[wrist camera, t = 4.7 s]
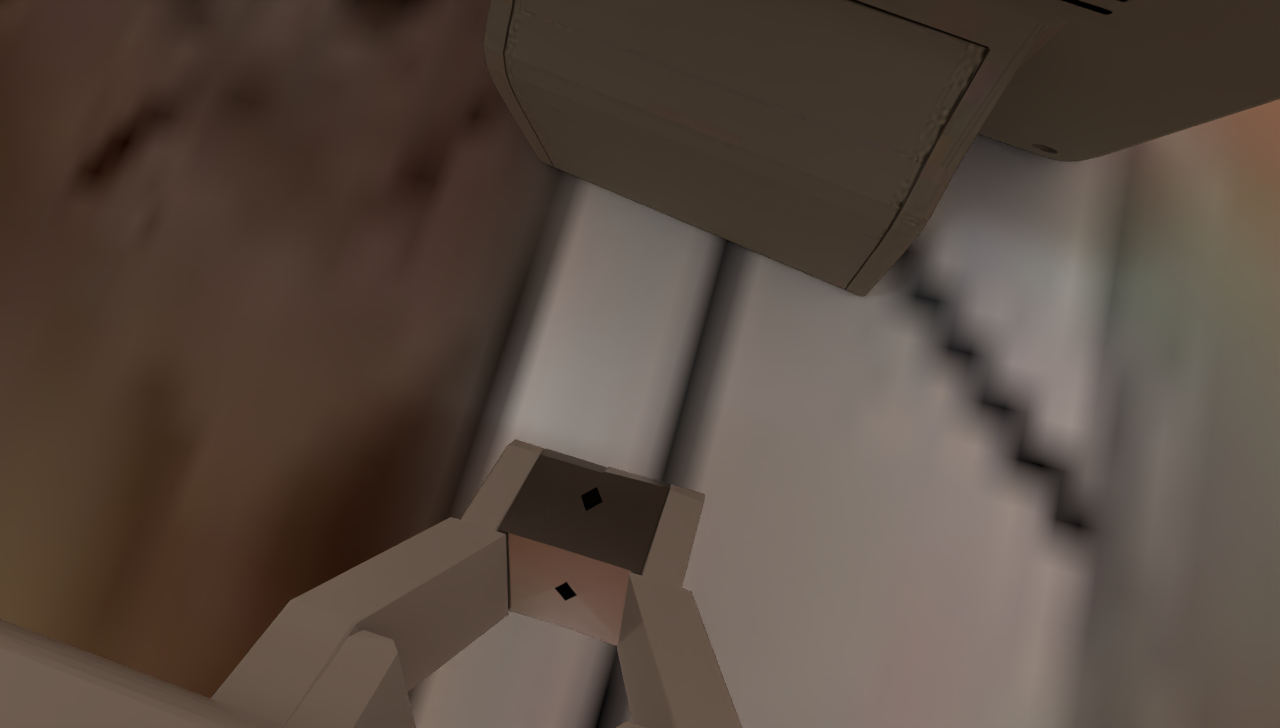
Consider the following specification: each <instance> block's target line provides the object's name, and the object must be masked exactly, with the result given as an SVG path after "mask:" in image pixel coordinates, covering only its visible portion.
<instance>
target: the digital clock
mask: <svg viewBox="0 0 1280 728" xmlns="http://www.w3.org/2000/svg"><path fill="white" fill-rule="evenodd" d="M483 48H484V54H485V60H486V65H487V68H488V70H489V73H490V75H491V77H492V80H493V82H494V85H495V87H496V88H497V90H498V92H499V93H500V95H501V97H502V98H503V100H504V102H505V104H506V105H507V107H508V109H509V110H510V112H511V114H512V115H513V117H514V119H515V120H516V122H517V124H518V126H519V127H520V129H521V131H522V132H523V134H524V136H525V137H526V139H527V141H528V142H529V144H530V145H531V147H532V149H533V150H534V152H535V154H536V155H537V157H538V159H539V160H540V161H541V162H543V163H546V164H548V165H550V166H553V167H555V168H558V169H560V170H562V171H565V172H567V173H569V174H572V175H574V176H577V177H579V178H581V179H584V180H586V181H588V182H591V183H593V184H596V185H598V186H600V187H603V188H605V189H608V190H610V191H612V192H615V193H617V194H619V195H622V196H624V197H627V198H629V199H631V200H634V201H636V202H638V203H641V204H643V205H646V206H648V207H650V208H653V209H655V210H657V211H660V212H662V213H665V214H667V215H669V216H672V217H674V218H677V219H679V220H681V221H684V222H686V223H688V224H691V225H693V226H696V227H698V228H700V229H703V230H705V231H707V232H710V233H712V234H715V235H717V236H719V237H722V238H724V239H726V240H729V241H731V242H734V243H736V244H738V245H741V246H743V247H746V248H748V249H750V250H753V251H755V252H757V253H760V254H762V255H765V256H767V257H769V258H772V259H774V260H776V261H779V262H781V263H784V264H786V265H788V266H791V267H793V268H795V269H798V270H800V271H803V272H805V273H807V274H810V275H812V276H815V277H817V278H819V279H822V280H824V281H826V282H829V283H831V284H834V285H836V286H838V287H841V288H843V289H845V287H846V286H847V287H846V290H848V291H850V292H853V293H855V294H857V295H860V296H865V295H866V294H867V293H868V292H869V291H870V290H871V289H872V288H873V286H874V285H875V284H876V283H877V282H878V281H879V280H880V279H881V278H882V276H883V275H884V274H885V273H886V272H887V271H888V270H889V269H890V268H891V266H892V265H893V264H894V263H895V262H896V261H897V260H898V259H899V258H900V256H901V255H902V254H903V253H904V252H905V251H906V250H907V248H908V247H909V246H910V245H911V243H912V242H913V241H914V240H915V239H916V237H917V236H918V235H919V234H920V232H921V231H922V229H923V228H924V226H925V225H926V223H927V222H928V220H929V219H930V217H931V215H932V213H933V211H934V209H935V207H936V206H937V204H938V202H939V200H940V198H941V196H942V195H943V193H944V191H945V189H946V187H947V185H948V183H949V182H950V180H951V178H952V176H953V174H954V172H955V170H956V169H957V167H958V165H959V164H960V162H961V160H962V159H963V157H964V156H965V154H966V152H967V151H968V149H969V147H970V146H971V144H972V142H973V141H974V139H975V137H976V136H977V134H980V135H983V136H986V137H989V138H991V139H994V140H997V141H1000V142H1003V143H1005V144H1008V145H1011V146H1014V147H1017V148H1020V149H1023V150H1025V151H1028V152H1031V153H1034V154H1037V155H1040V156H1043V157H1047V158H1050V159H1054V160H1058V161H1066V162H1074V161H1082V160H1087V159H1091V158H1095V157H1099V156H1103V155H1106V154H1109V153H1112V152H1115V151H1118V150H1121V149H1124V148H1128V147H1131V146H1134V145H1137V144H1140V143H1143V142H1146V141H1150V140H1153V139H1156V138H1159V137H1162V136H1165V135H1168V134H1171V133H1175V132H1178V131H1181V130H1184V129H1187V128H1190V127H1193V126H1196V125H1200V124H1203V123H1206V122H1209V121H1212V120H1215V119H1218V118H1222V117H1225V116H1228V115H1231V114H1234V113H1237V112H1240V111H1243V110H1247V109H1250V108H1253V107H1256V106H1259V105H1262V104H1265V103H1268V102H1272V101H1275V100H1278V99H1280V0H491V4H490V9H489V14H488V18H487V23H486V30H485V36H484V43H483Z"/></svg>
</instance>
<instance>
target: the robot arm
mask: <svg viewBox="0 0 1280 728" xmlns="http://www.w3.org/2000/svg"><path fill="white" fill-rule="evenodd" d="M704 499H705V494H703V493H700V492H696V491H693V490H689V489H686V488H682V487H678V486H675V485H672V486H671V484H669V483H666V482H662V481H658V480H655V479H651V478H647V477H644V476H640V475H636V474H633V473H629V472H625V471H622V470H618V469H614V468H610V467H608V468H607V467H604V466H601V465H597V464H594V463H591V462H588V461H585V460H581V459H578V458H575V457H572V456H569V455H565V454H562V453H559V452H556V451H553V450H549V449H545V448H542V447H539V446H535V445H532V444H529V443H525V442H522V441H519V440H516V439H515V440H514V441H513V442H512V443H510V444H509V445H508V446H507V447H506V449H505V450H504V452H503V453H502V455H501V456H500V458H499V460H498V461H497V463H496V464H495V466H494V467H493V469H492V470H491V472H490V474H489V475H488V477H487V478H486V480H485V481H484V483H483V484H482V486H481V488H480V489H479V491H478V492H477V494H476V495H475V497H474V498H473V500H472V502H471V503H470V505H469V506H468V508H467V509H466V511H465V512H464V514H463V516H462V517H461V519H456V518H453V517H450V518H448V519H446V520H444V521H442V522H440V523H438V524H436V525H434V526H432V527H430V528H428V529H426V530H425V531H423V532H421V533H419V534H417V535H415V536H413V537H411V538H409V539H407V540H405V541H403V542H402V543H400V544H398V545H396V546H394V547H392V548H390V549H388V550H386V551H384V552H382V553H380V554H378V555H377V556H375V557H373V558H371V559H369V560H367V561H365V562H363V563H361V564H359V565H357V566H355V567H354V568H352V569H350V570H348V571H346V572H344V573H342V574H340V575H338V576H336V577H334V578H332V579H330V580H329V581H327V582H325V583H323V584H321V585H319V586H317V587H315V588H313V589H311V590H309V591H307V592H306V593H304V594H302V595H300V596H298V597H296V598H294V599H292V600H290V601H289V603H288V604H287V605H286V606H285V607H284V609H283V610H282V611H281V612H280V614H279V615H278V616H277V617H276V619H275V620H274V621H273V622H272V624H271V625H270V626H269V627H268V628H267V630H266V631H265V632H264V633H263V635H262V636H261V637H260V638H259V640H258V641H257V642H256V643H255V645H254V646H253V647H252V648H251V649H250V651H249V652H248V653H247V654H246V656H245V657H244V658H243V659H242V661H241V662H240V663H239V664H238V666H237V667H236V668H235V669H234V670H233V672H232V673H231V674H230V675H229V677H228V678H227V679H226V680H225V682H224V683H223V684H222V685H221V686H220V688H219V689H218V690H217V691H216V693H215V694H214V695H213V696H212V698H211V699H210V698H207V697H205V696H202V695H200V694H197V693H194V692H192V691H189V690H186V689H184V688H181V687H178V686H176V685H173V684H170V683H168V682H165V681H163V680H160V679H157V678H155V677H152V676H149V675H147V674H144V673H141V672H139V671H136V670H133V669H131V668H128V667H126V666H123V665H120V664H118V663H115V662H112V661H110V660H107V659H104V658H102V657H99V656H96V655H94V654H91V653H89V652H86V651H83V650H81V649H78V648H75V647H73V646H70V645H67V644H65V643H62V642H59V641H57V640H54V639H52V638H49V637H46V636H44V635H41V634H38V633H36V632H33V631H30V630H28V629H25V628H22V627H20V626H17V625H15V624H12V623H9V622H7V621H4V620H1V619H0V728H416V727H415V722H414V718H413V714H412V710H411V706H410V701H409V697H408V693H407V692H408V691H410V690H411V689H412V688H413V687H415V686H416V685H417V684H419V683H420V682H421V681H423V680H424V679H425V678H426V677H428V676H429V675H430V674H432V673H433V672H434V671H435V670H437V669H438V668H439V667H441V666H442V665H443V664H445V663H446V662H447V661H448V660H450V659H451V658H452V657H454V656H455V655H456V654H458V653H459V652H460V651H461V650H463V649H464V648H465V647H467V646H468V645H469V644H471V643H472V642H473V641H474V640H476V639H477V638H478V637H480V636H481V635H482V634H484V633H485V632H486V631H487V630H489V629H490V628H491V627H493V626H494V625H495V624H496V623H498V622H499V621H500V620H502V619H503V618H504V617H506V616H507V615H508V610H509V611H512V612H515V613H519V614H522V615H525V616H529V617H532V618H536V619H539V620H542V621H546V622H549V623H552V624H556V625H559V626H562V627H565V628H568V629H571V630H574V631H576V632H579V633H582V634H585V635H588V636H590V637H593V638H596V639H599V640H602V641H604V642H607V643H610V644H613V645H616V646H618V648H617V650H618V655H619V660H620V665H621V669H622V674H623V679H624V684H625V688H626V693H627V698H628V703H629V707H630V712H631V717H632V722H633V723H632V722H629V721H626V722H624V723H623V724H621V725H619V726H618V727H616V728H742V727H741V724H740V721H739V718H738V716H737V713H736V710H735V708H734V705H733V702H732V700H731V697H730V694H729V692H728V689H727V686H726V683H725V681H724V678H723V675H722V673H721V670H720V667H719V665H718V662H717V659H716V657H715V654H714V651H713V648H712V646H711V643H710V640H709V638H708V635H707V632H706V630H705V627H704V624H703V622H702V619H701V616H700V613H699V611H698V608H697V605H696V603H695V600H694V597H693V595H692V592H691V591H688V590H686V589H683V588H682V585H683V581H684V577H685V574H686V570H687V566H688V562H689V558H690V554H691V550H692V546H693V542H694V538H695V534H696V531H697V527H698V523H699V519H700V515H701V511H702V507H703V503H704Z"/></svg>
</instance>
